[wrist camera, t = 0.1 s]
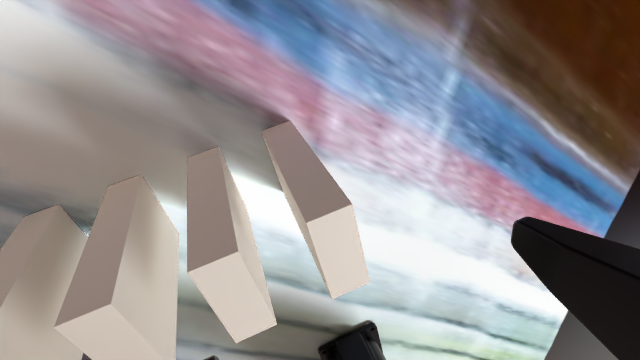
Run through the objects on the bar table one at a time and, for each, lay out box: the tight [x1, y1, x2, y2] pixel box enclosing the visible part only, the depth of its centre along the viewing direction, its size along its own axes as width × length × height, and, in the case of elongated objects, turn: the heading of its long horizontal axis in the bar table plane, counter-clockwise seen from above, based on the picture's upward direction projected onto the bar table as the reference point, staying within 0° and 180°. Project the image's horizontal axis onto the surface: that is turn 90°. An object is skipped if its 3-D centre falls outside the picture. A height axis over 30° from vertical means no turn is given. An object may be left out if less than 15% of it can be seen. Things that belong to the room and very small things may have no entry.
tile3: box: [187, 147, 277, 343], centre depth 18 cm, size 2×5×10 cm, turn 14°
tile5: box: [0, 204, 88, 360], centre depth 17 cm, size 2×5×10 cm, turn 14°
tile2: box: [261, 121, 370, 299], centre depth 19 cm, size 2×5×10 cm, turn 14°
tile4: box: [54, 174, 179, 360], centre depth 18 cm, size 2×5×10 cm, turn 14°
